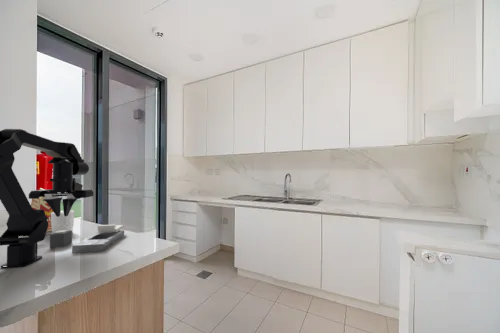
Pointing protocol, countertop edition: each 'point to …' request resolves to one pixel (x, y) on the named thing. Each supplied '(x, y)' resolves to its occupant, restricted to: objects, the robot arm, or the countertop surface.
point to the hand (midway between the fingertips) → (62, 216)
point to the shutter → (109, 228)
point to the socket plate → (97, 242)
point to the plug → (60, 238)
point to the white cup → (62, 221)
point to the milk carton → (43, 205)
